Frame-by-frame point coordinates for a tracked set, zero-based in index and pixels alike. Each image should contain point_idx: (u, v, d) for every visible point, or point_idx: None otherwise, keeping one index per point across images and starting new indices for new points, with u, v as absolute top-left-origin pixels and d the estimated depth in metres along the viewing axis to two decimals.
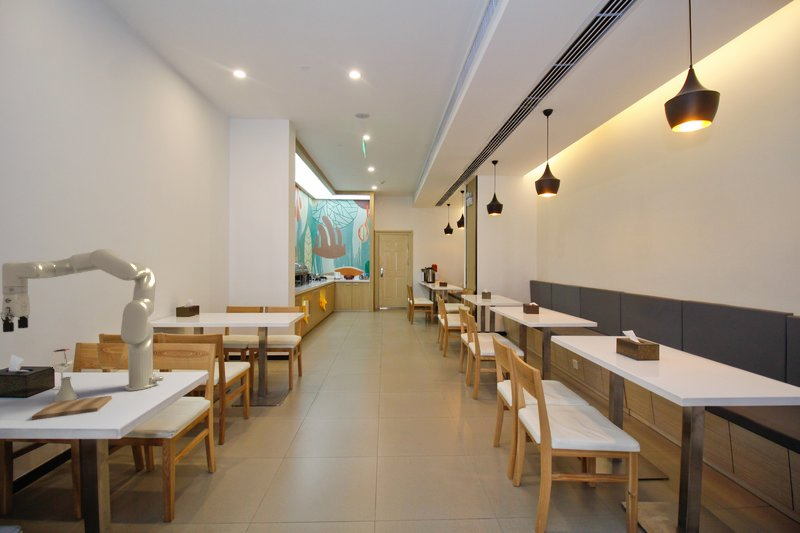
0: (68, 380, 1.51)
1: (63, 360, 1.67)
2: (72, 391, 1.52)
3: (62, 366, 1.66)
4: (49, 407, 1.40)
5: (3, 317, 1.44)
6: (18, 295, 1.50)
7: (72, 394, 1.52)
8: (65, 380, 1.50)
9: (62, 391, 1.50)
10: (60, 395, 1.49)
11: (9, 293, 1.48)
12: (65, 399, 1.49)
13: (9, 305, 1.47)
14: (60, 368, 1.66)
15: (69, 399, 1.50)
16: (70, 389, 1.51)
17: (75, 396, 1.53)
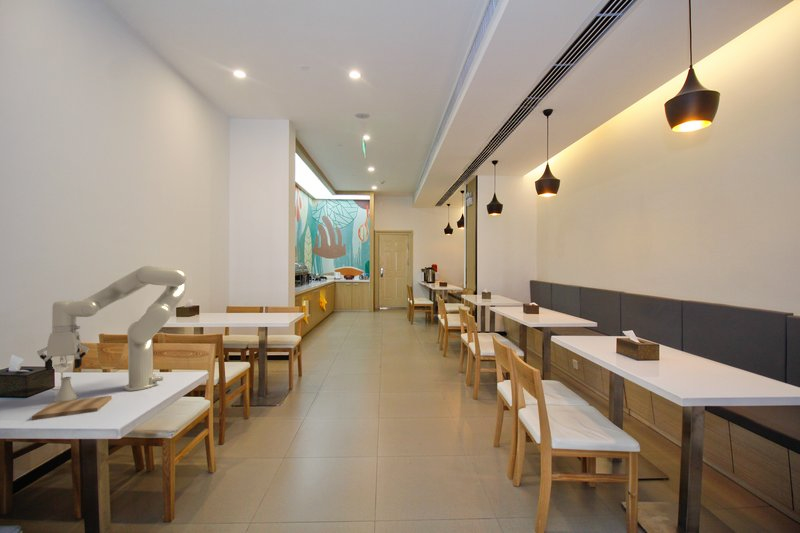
0: (68, 380, 1.51)
1: (63, 360, 1.67)
2: (72, 391, 1.52)
3: (62, 366, 1.66)
4: (49, 407, 1.40)
5: (86, 352, 1.54)
6: None
7: (72, 394, 1.52)
8: (65, 380, 1.50)
9: (62, 391, 1.50)
10: (60, 395, 1.49)
11: (75, 331, 1.53)
12: (65, 399, 1.49)
13: (79, 342, 1.54)
14: (60, 368, 1.66)
15: (69, 399, 1.50)
16: (70, 389, 1.51)
17: (75, 396, 1.53)
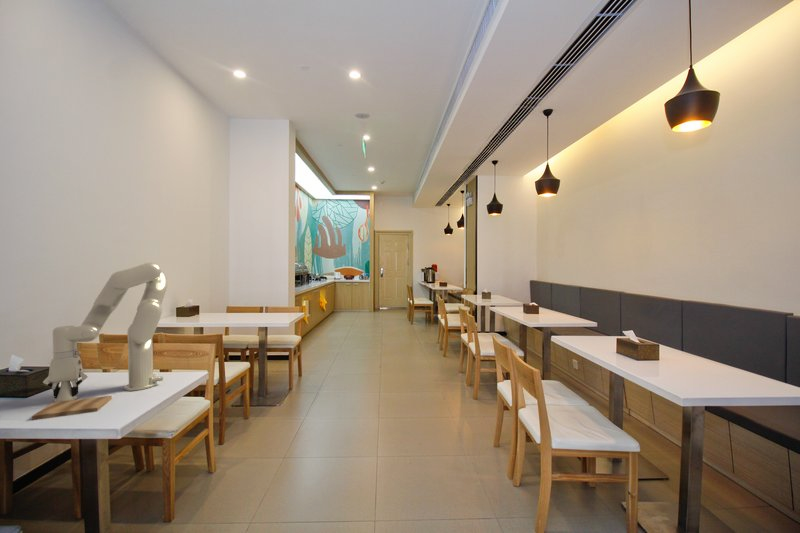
0: None
1: None
2: None
3: None
4: (49, 407, 1.40)
5: (83, 380, 1.54)
6: None
7: None
8: None
9: (62, 391, 1.50)
10: (60, 395, 1.49)
11: (76, 356, 1.53)
12: (65, 399, 1.49)
13: (81, 368, 1.54)
14: None
15: (69, 399, 1.50)
16: (70, 389, 1.51)
17: (75, 396, 1.53)
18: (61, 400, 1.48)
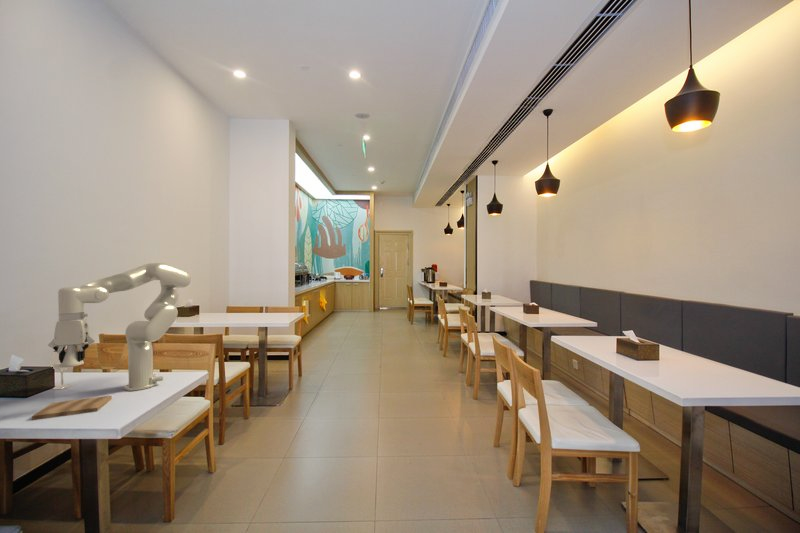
0: None
1: None
2: None
3: None
4: (49, 407, 1.40)
5: None
6: None
7: None
8: None
9: (68, 355, 1.42)
10: (65, 359, 1.41)
11: (82, 318, 1.45)
12: (71, 363, 1.41)
13: (87, 332, 1.46)
14: (60, 368, 1.66)
15: (75, 364, 1.42)
16: (76, 353, 1.43)
17: (81, 361, 1.45)
18: (66, 364, 1.40)
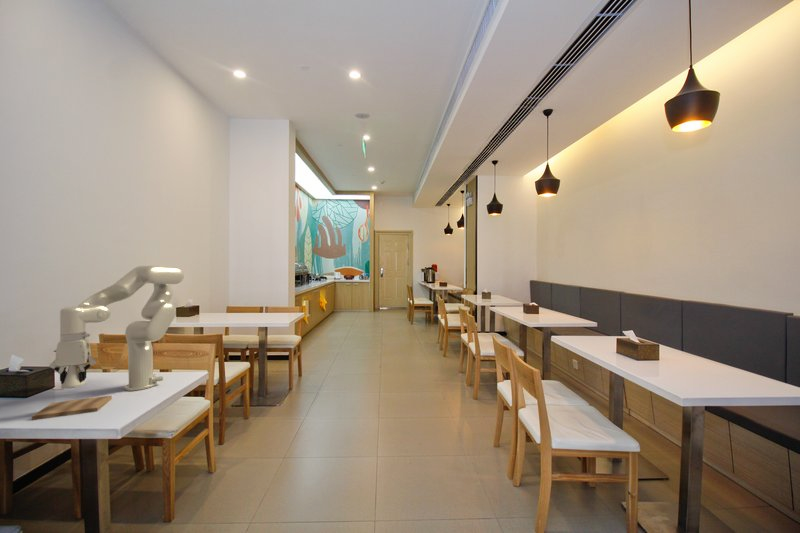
0: None
1: None
2: None
3: None
4: (49, 407, 1.40)
5: (91, 365, 1.44)
6: None
7: None
8: None
9: (70, 375, 1.40)
10: (67, 380, 1.40)
11: (84, 338, 1.44)
12: (72, 384, 1.40)
13: (89, 351, 1.45)
14: None
15: (76, 384, 1.41)
16: (77, 374, 1.42)
17: (83, 381, 1.43)
18: (68, 385, 1.39)
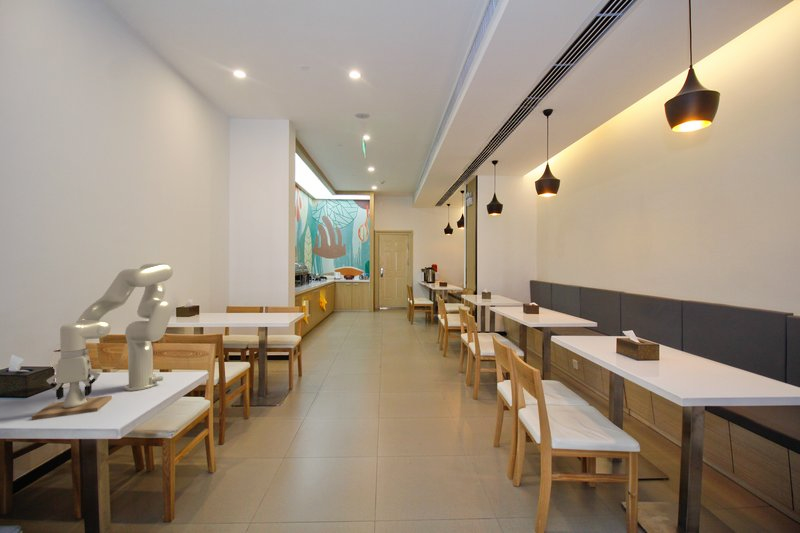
0: (77, 383, 1.42)
1: None
2: (81, 395, 1.43)
3: None
4: (49, 407, 1.40)
5: (96, 378, 1.45)
6: None
7: (81, 398, 1.43)
8: (74, 383, 1.41)
9: (71, 394, 1.41)
10: (68, 399, 1.40)
11: (84, 355, 1.44)
12: (74, 403, 1.40)
13: (89, 367, 1.45)
14: None
15: (78, 403, 1.41)
16: (79, 392, 1.42)
17: (84, 400, 1.44)
18: (70, 404, 1.39)
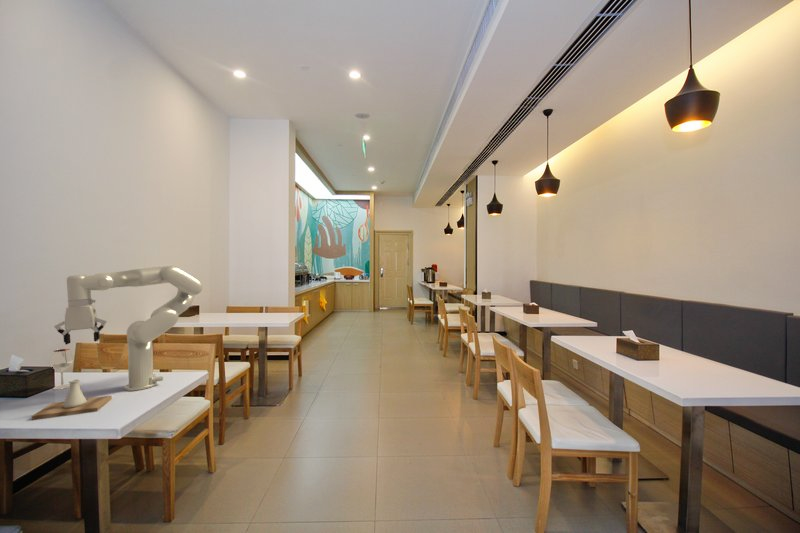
0: (77, 383, 1.42)
1: (63, 360, 1.67)
2: (81, 395, 1.43)
3: (62, 366, 1.66)
4: (49, 407, 1.40)
5: (104, 325, 1.56)
6: None
7: (81, 398, 1.43)
8: (74, 383, 1.41)
9: (71, 394, 1.41)
10: (68, 399, 1.40)
11: (90, 304, 1.54)
12: (74, 403, 1.40)
13: (95, 315, 1.55)
14: (60, 368, 1.66)
15: (78, 403, 1.41)
16: (79, 392, 1.42)
17: (84, 400, 1.44)
18: (70, 404, 1.39)
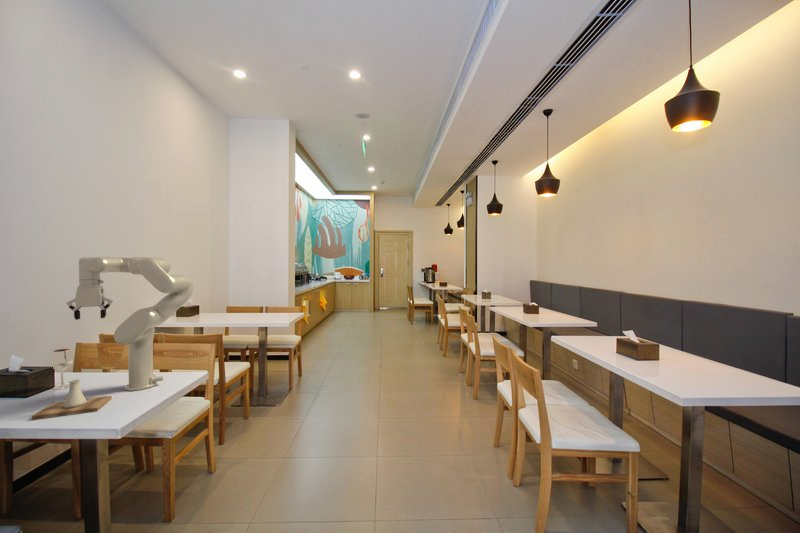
0: (77, 383, 1.42)
1: (63, 360, 1.67)
2: (81, 395, 1.43)
3: (62, 366, 1.66)
4: (49, 407, 1.40)
5: (110, 304, 1.70)
6: None
7: (81, 398, 1.43)
8: (74, 383, 1.41)
9: (71, 394, 1.41)
10: (68, 399, 1.40)
11: (99, 284, 1.69)
12: (74, 403, 1.40)
13: (103, 295, 1.70)
14: (60, 368, 1.66)
15: (78, 403, 1.41)
16: (79, 392, 1.42)
17: (84, 400, 1.44)
18: (70, 404, 1.39)
